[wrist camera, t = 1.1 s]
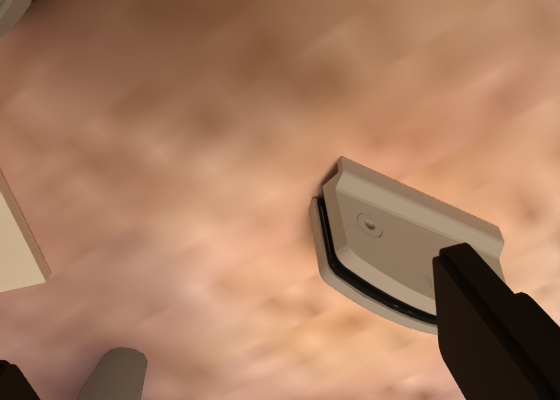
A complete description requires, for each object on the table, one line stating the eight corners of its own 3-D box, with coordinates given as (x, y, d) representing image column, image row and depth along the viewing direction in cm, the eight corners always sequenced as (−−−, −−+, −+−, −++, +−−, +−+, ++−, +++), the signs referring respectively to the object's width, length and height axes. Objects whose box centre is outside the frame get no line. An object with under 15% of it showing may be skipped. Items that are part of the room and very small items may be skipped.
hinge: (501, 228, 40) (545, 332, 33) (463, 258, 43) (495, 360, 36) (336, 153, 35) (345, 256, 28) (305, 193, 38) (306, 295, 31)
